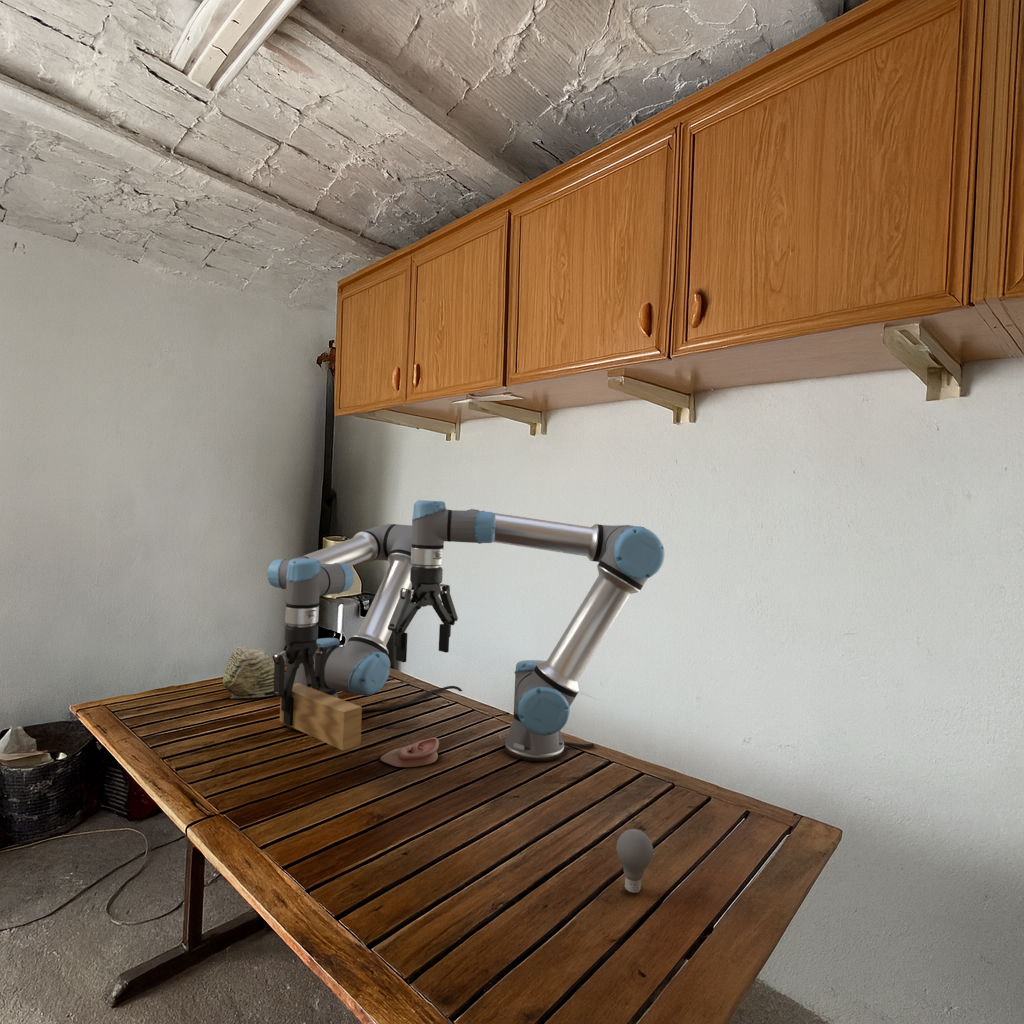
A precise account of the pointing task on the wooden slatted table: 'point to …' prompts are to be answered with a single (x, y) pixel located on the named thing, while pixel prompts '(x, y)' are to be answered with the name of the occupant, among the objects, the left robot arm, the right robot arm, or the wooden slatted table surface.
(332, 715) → the bar
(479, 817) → the wooden slatted table surface
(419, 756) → the anatomical model
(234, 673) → the fossil
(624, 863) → the light bulb
